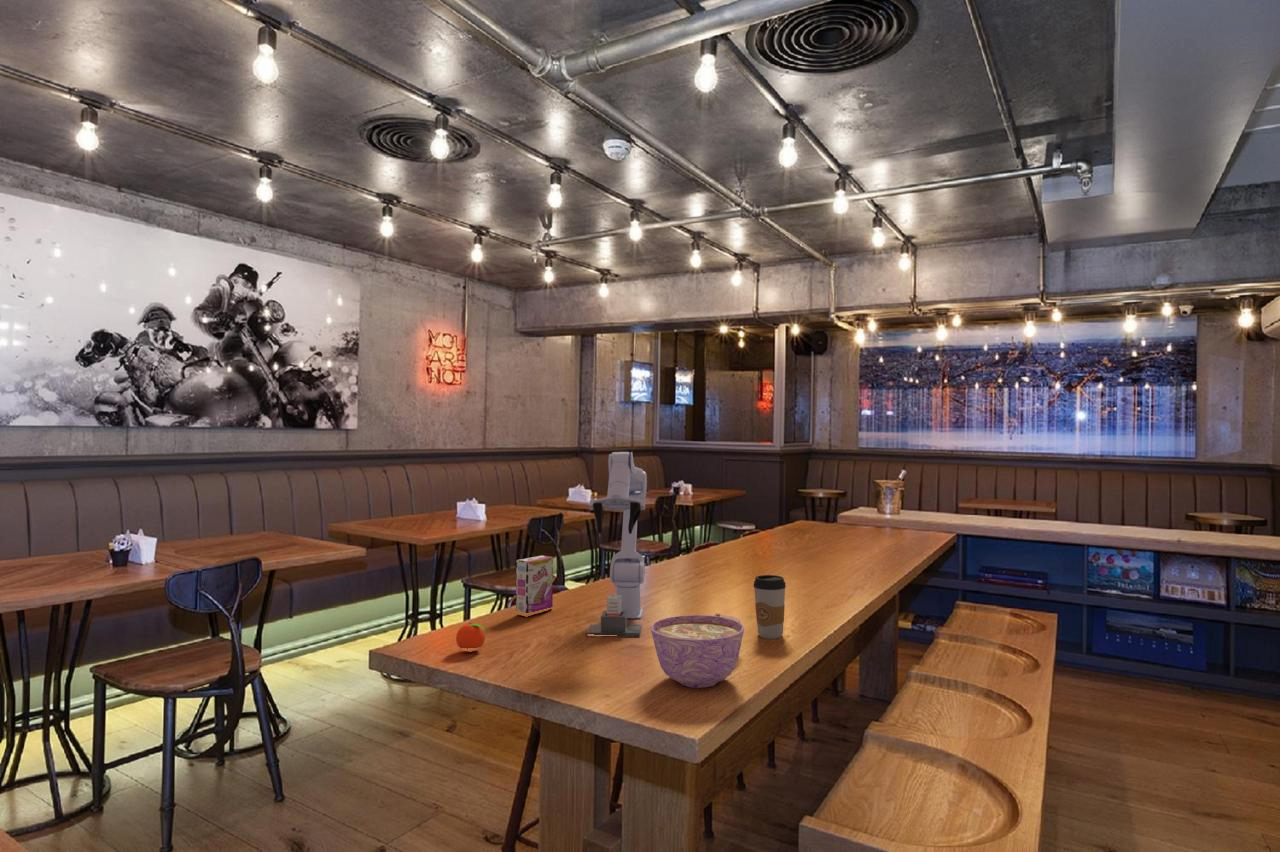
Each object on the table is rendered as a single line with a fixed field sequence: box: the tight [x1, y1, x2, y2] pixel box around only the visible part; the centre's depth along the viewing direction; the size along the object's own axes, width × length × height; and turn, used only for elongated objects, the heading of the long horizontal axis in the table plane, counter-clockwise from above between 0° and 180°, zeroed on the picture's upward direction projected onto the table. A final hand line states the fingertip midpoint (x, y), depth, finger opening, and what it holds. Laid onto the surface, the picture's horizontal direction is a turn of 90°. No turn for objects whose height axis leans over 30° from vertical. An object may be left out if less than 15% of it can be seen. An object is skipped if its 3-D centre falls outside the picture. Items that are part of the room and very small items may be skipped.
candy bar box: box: [515, 555, 554, 613], centre depth 212 cm, size 11×5×16 cm, turn 144°
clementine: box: [455, 622, 488, 649], centre depth 174 cm, size 8×7×7 cm
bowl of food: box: [650, 614, 745, 689], centre depth 151 cm, size 20×20×12 cm
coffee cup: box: [753, 574, 787, 640], centre depth 184 cm, size 8×8×15 cm
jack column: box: [606, 594, 622, 616], centre depth 189 cm, size 4×4×8 cm
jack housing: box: [585, 610, 643, 638], centre depth 189 cm, size 8×14×5 cm, turn 86°
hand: (614, 531), depth 180 cm, fingers open, 7 cm apart
